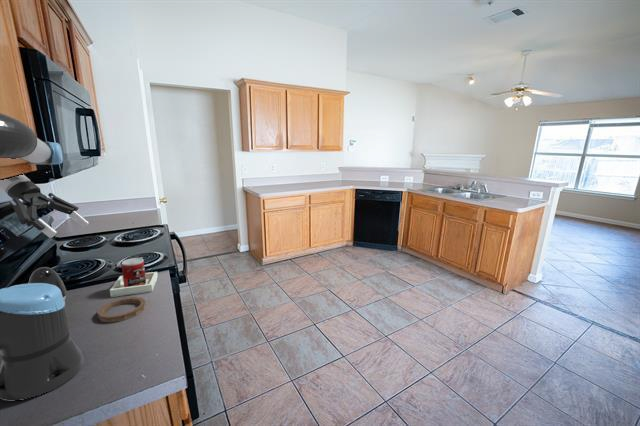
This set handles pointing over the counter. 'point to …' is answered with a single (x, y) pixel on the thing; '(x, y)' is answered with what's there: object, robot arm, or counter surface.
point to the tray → (120, 290)
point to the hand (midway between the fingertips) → (71, 230)
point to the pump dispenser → (48, 278)
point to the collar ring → (121, 316)
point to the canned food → (133, 272)
